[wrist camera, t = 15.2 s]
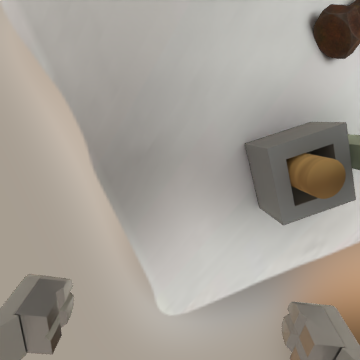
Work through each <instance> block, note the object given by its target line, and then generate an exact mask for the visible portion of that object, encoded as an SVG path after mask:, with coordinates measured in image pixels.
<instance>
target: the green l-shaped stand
mask: <svg viewBox="0 0 360 360" xmlns="http://www.w3.org/2000/svg"><path fill="white" fill-rule="evenodd" d="M348 140H349V148H350V157H351V165H352V168H353V169H358V170H360V135H348Z"/></svg>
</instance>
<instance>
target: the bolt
mask: <svg viewBox="0 0 360 360" xmlns="http://www.w3.org/2000/svg"><path fill="white" fill-rule="evenodd" d="M313 31H314V38H315V41H316V43H317V45H318V47H319V49H320V50H321V51H322V52H323V53H324V54H325V55H326V56H328V57H331V58H336V59H345V58H346V57H348V56H349V55H351V54H352V53H353V52H354V50H355V49H356V48H357V46H358V45H359V44H360V0H356V1H355V2H354V3H352V4H351V5H349V6H346V5H334V4H331V5H329V6H328V7H327V8H325V9H324V10H323V11H322V13H321V14H320V16H319V17H318V19H317V21H316V23H315V25H314V29H313Z"/></svg>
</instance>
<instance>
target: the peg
mask: <svg viewBox="0 0 360 360" xmlns="http://www.w3.org/2000/svg"><path fill="white" fill-rule="evenodd" d="M286 162H287V167H288V173H289V178H290V183H291V186H292V187H295V188H297V189H299V190H301V191H303V192H306V193H308V194H310V195H312V196H315V197H317V198H320V199H327V198H330V197H332V196H334V195H336V194H337V193H338V192H339V191H340V190H341V188H342V187H343V185H344V182H345V178H346V173H345V169H344V166H343V165H342V164H341V163H340V162H339V161H338V160H336V159H332V158H327V157H322V156H317V155H312V154H308V153H304V154H301V155H298V156H295V157H292V158H289V159H286Z"/></svg>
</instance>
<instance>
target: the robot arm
mask: <svg viewBox="0 0 360 360" xmlns="http://www.w3.org/2000/svg"><path fill="white" fill-rule="evenodd" d="M72 287H73V285H72V280H71V279H66V278H58V277H51V276H42V275H33V274H29V275H27V276H26V277H24V279H23V280H22V281H21V283H20V284H19V285H18V287H17V288H16V289H15V290H14V292H13V293H12V294H11V296H10V297H9V298H8V299H7V301H6V302H5V303H4V304H3V306H2V307H1V308H0V360H21V359H22V358H23V357H24V356H25V355H26V353H37V354H53V352H54V350H55V348H56V346H57V344H58V342H59V340H60V338H61V327H63V326H64V325H65V324H67V322H68V320H69V318H70V316H71V313H72V309H73V304H74V296H73V294H72V293H71V292H70V291H71V289H72ZM288 311H289V314H288V315H287V316H285V317H284V319H283V322H282V335H283V339H284V342H285V345H286V346H287V347H288V348H289V349H290V350H291V351H292V353H291V356H290V360H360V346H359V344H358V343H357V341H356V339H355V338H354V336H353V334H352V333H351V331H350V330H349V328H348V326H347V325H346V323H345V321H344V320H343V318H342V317H341V315H340V313H339V312H338V310H337V309H336V308H335V307H334V306H331V305H320V304H319V305H318V304H311V303H299V302H291V303H290V304H289V306H288Z"/></svg>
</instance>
